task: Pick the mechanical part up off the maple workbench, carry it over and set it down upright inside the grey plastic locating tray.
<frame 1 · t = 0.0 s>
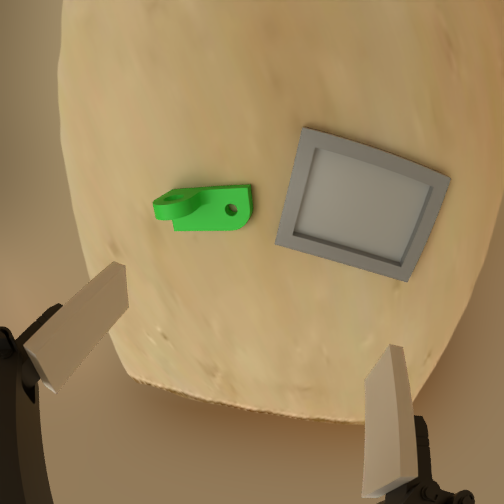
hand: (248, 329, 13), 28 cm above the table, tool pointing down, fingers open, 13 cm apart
locating tray: (362, 205, 37), on the table
mechanical part: (213, 205, 42), on the table
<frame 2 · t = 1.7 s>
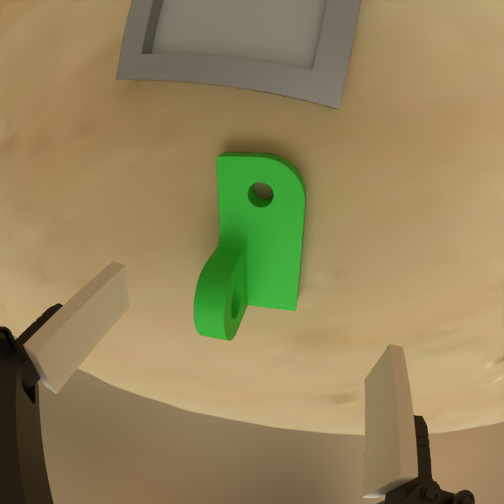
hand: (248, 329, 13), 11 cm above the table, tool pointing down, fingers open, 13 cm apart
mechanical part: (265, 228, 23), on the table
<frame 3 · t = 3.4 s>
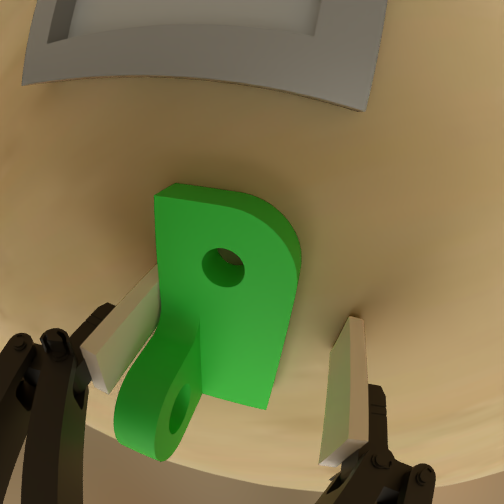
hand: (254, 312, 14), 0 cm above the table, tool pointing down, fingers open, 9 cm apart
mechanical part: (233, 302, 15), on the table
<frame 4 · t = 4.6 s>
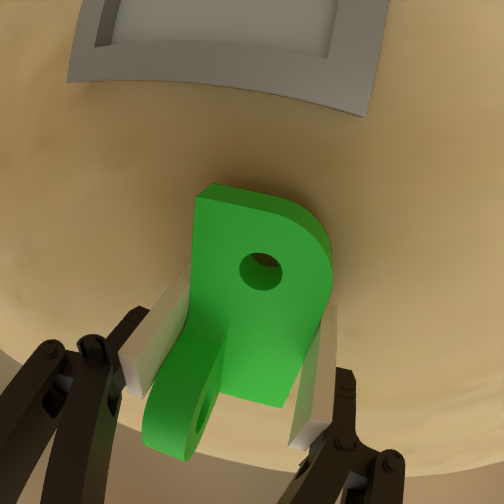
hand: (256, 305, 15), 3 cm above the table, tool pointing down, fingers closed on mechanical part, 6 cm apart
mechanical part: (258, 303, 16), point 2 cm above the table, touching gripper
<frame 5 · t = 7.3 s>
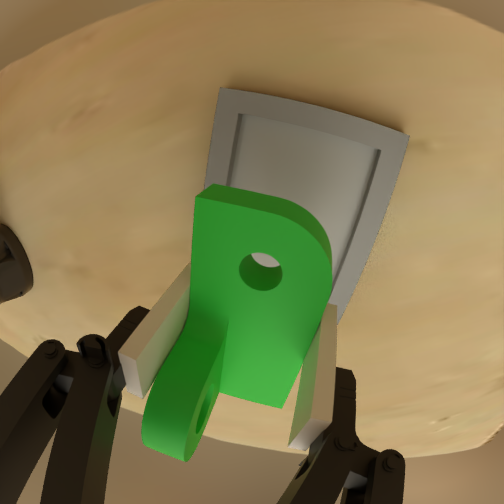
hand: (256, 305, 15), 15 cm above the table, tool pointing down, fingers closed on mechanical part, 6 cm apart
locating tray: (291, 210, 27), on the table
mechanical part: (258, 303, 16), point 14 cm above the table, touching gripper
when the fingers open (2 cm above the table, at t = 10.3 s): mechanical part stays where it is, resting on locating tray.
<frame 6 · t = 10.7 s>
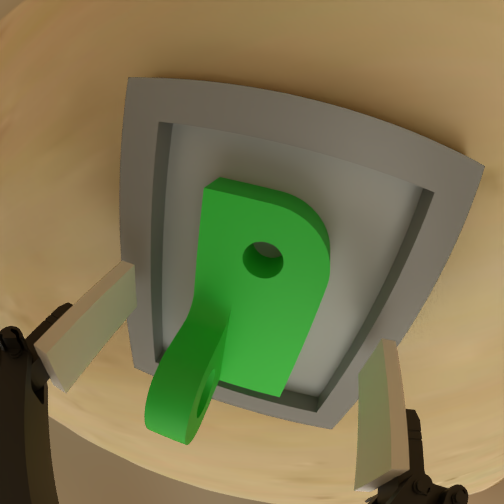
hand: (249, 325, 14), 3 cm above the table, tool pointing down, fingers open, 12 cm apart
locating tray: (264, 285, 16), on the table
mechanical part: (259, 293, 16), resting on locating tray
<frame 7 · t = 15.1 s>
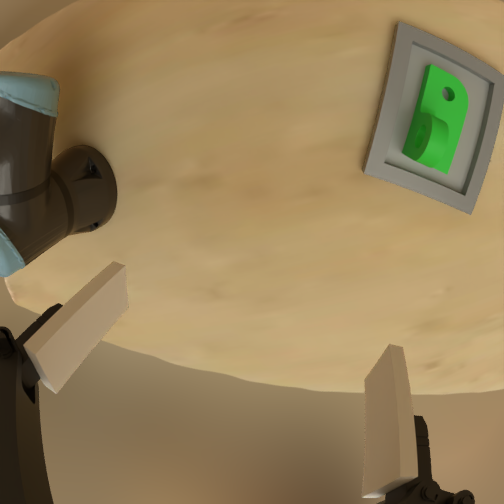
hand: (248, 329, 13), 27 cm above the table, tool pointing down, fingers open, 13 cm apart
locating tray: (439, 118, 28), on the table
mechanical part: (435, 118, 28), resting on locating tray
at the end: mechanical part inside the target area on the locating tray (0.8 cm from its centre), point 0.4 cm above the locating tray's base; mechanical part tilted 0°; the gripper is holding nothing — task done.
